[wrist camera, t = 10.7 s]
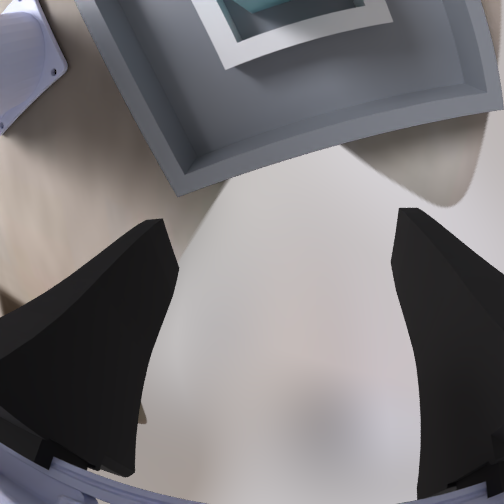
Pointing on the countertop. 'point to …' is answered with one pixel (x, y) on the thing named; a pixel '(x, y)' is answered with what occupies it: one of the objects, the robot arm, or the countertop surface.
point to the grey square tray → (288, 75)
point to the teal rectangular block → (259, 4)
